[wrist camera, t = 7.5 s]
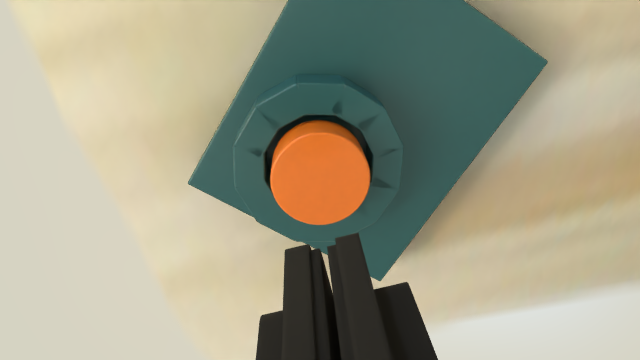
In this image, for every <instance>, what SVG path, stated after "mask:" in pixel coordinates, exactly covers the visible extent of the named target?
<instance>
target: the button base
mask: <svg viewBox="0 0 640 360" xmlns="http://www.w3.org/2000/svg"><path fill="white" fill-rule="evenodd" d="M547 62H548V61H547V60H546V59H544V58H543V57H542V56H540V55H539V54H538V53H536V52H535V51H533V50H532V49H531V48H529V47H528V46H526V45H525V44H524V43H522V42H521V41H520V40H518V39H517V38H515V37H514V36H513V35H511V34H510V33H508V32H507V31H506V30H504V29H503V28H501V27H500V26H499V25H497V24H496V23H495V22H493V21H492V20H490V19H489V18H488V17H486V16H485V15H483V14H482V13H481V12H479V11H478V10H477V9H475V8H474V7H472V6H471V5H470V4H468V3H467V2H465V1H464V0H288V2H287V3H286V5H285V7H284V9H283V11H282V13H281V14H280V16H279V18H278V20H277V22H276V23H275V25H274V27H273V29H272V31H271V32H270V34H269V36H268V38H267V40H266V42H265V43H264V45H263V47H262V49H261V51H260V52H259V54H258V56H257V58H256V60H255V61H254V63H253V65H252V67H251V69H250V71H249V72H248V74H247V76H246V78H245V80H244V81H243V83H242V85H241V87H240V89H239V90H238V92H237V94H236V96H235V98H234V99H233V101H232V103H231V105H230V107H229V109H228V110H227V112H226V114H225V116H224V118H223V119H222V121H221V123H220V125H219V127H218V128H217V130H216V132H215V134H214V136H213V138H212V139H211V141H210V143H209V145H208V147H207V148H206V150H205V152H204V154H203V156H202V157H201V159H200V161H199V163H198V165H197V167H196V168H195V170H194V172H193V174H192V176H191V178H190V180H189V181H188V184H189V185H191V186H193V187H195V188H197V189H199V190H201V191H203V192H205V193H207V194H209V195H211V196H213V197H215V198H217V199H219V200H221V201H223V202H225V203H227V204H229V205H231V206H233V207H235V208H236V209H238V210H240V211H242V212H244V213H246V214H248V215H250V216H252V217H254V218H255V219H256V221H257V222H259V223H260V224H262V225H264V226H266V227H268V228H270V229H272V230H274V231H276V232H278V233H280V234H282V235H284V236H286V237H288V238H290V239H292V240H294V241H295V240H296V241H297V242H303V243H305V244H309V245H310V246H311V247H313V248H315V249H318V248H320V250H321V252H323V253H325V254H327V255H328V251H327V246H331V245H336V242H335V238H337V237H341V236H346V235H350V234H354V233H359V236H360V240H361V244H362V248H363V252H364V255H365V259H366V263H367V267H368V270H369V274H370V277H372V278H374V279H376V280H378V281H381V280H382V278H383V277H384V276H385V275H386V273H387V272H388V271H389V269H390V268H391V267H392V265H393V264H394V263H395V261H396V260H397V259H398V258H399V256H400V255H401V254H402V252H403V251H404V250H405V248H406V247H407V246H408V244H409V243H410V242H411V241H412V239H413V238H414V237H415V235H416V234H417V233H418V231H419V230H420V229H421V227H422V226H423V225H424V224H425V222H426V221H427V220H428V218H429V217H430V216H431V214H432V213H433V212H434V210H435V209H436V208H437V207H438V205H439V204H440V203H441V201H442V200H443V199H444V197H445V196H446V195H447V194H448V192H449V191H450V190H451V188H452V187H453V186H454V184H455V183H456V182H457V180H458V179H459V178H460V177H461V175H462V174H463V173H464V171H465V170H466V169H467V167H468V166H469V165H470V163H471V162H472V161H473V160H474V158H475V157H476V156H477V154H478V153H479V152H480V150H481V149H482V148H483V146H484V145H485V144H486V143H487V141H488V140H489V139H490V137H491V136H492V135H493V133H494V132H495V131H496V129H497V128H498V127H499V126H500V124H501V123H502V122H503V120H504V119H505V118H506V116H507V115H508V114H509V112H510V111H511V110H512V109H513V107H514V106H515V105H516V103H517V102H518V101H519V99H520V98H521V97H522V95H523V94H524V93H525V92H526V90H527V89H528V88H529V86H530V85H531V84H532V82H533V81H534V80H535V78H536V77H537V76H538V75H539V73H540V72H541V71H542V69H543V68H544V67H545V65H546V64H547ZM312 120H326V121H331V122H334V123H337V124H339V125H341V126H343V127H345V128H346V129H348V130H349V131H350V132H351V133H352V134H353V135H354V136H355V137H356V139H357V140H358V142H359V143H360V146H361V148H362V150H363V152H364V155H365V157H366V160H367V162H368V165H369V169H370V186H369V190H368V193H367V195H366V197H365V199H364V201H363V202H362V204H361V205H360V206H359V208H358V209H357V210H356V211H355V212H354V213H352V214H351V215H350V216H348V217H346V218H345V219H343V220H340V221H338V222H335V223H332V224H326V225H313V224H307V223H304V222H301V221H298V220H296V219H294V218H293V217H291V216H289V215H288V214H287V213H286V212H285V211H284V210H283V209H282V208H281V207H280V206H279V205H278V203H277V202H276V200H275V198H274V196H273V193H272V189H271V183H270V175H271V166H272V158H273V153H274V150H275V148H276V146H277V144H278V142H279V141H280V139H281V138H282V137H283V136H284V134H285V133H286V132H288V131H289V130H290V129H292V128H293V127H295V126H297V125H299V124H301V123H304V122H307V121H312Z"/></svg>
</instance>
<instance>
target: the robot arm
mask: <svg viewBox="0 0 640 360" xmlns="http://www.w3.org/2000/svg"><path fill="white" fill-rule="evenodd" d="M335 242H336V245H331V246H327V251H328V259H329V266H330V274H331V282H332V290H333V293H332V290H331V286H330V282H329V279H328V275H327V271H326V268H325V264H324V260H323V257H322V253H321V250H320V248H318V249H314V250H311V247H310V245H309V244H307V245H303V246H299V247H295V248H290V249H286V250H285V263H284V294H283V311H278V312H274V313H270V314H265V315H262V316H261V318H260V323H259V333H258V343H257V353H256V360H438V358H437V356H436V353H435V351H434V348H433V346H432V343H431V340H430V338H429V335H428V333H427V330H426V327H425V325H424V322H423V320H422V317H421V315H420V312H419V309H418V307H417V304H416V302H415V299H414V297H413V294H412V291H411V289H410V286H409V284H408V283H407V282H405V283H400V284H396V285H392V286H387V287H383V288H379V289H373V286H372V282H371V278H370V274H369V270H368V267H367V263H366V259H365V255H364V252H363V248H362V244H361V240H360V236H359V233H354V234H350V235H346V236H341V237H337V238H335Z"/></svg>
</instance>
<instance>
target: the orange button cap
mask: <svg viewBox="0 0 640 360" xmlns="http://www.w3.org/2000/svg"><path fill="white" fill-rule="evenodd" d="M270 183H271V189H272V193H273V196H274V198H275V200H276V202H277V203H278V205H279V206H280V207H281V208H282V209H283V210H284V211H285V212H286V213H287V214H288V215H289V216H291V217H293V218H294V219H296V220H298V221H301V222H304V223H307V224H313V225H326V224H332V223H335V222H338V221H340V220H343V219H345V218H346V217H348V216H350V215H351V214H352V213H354V212H355V211H356V210H357V209H358V208H359V206H360V205H361V204H362V202H363V201H364V199H365V197H366V195H367V193H368V190H369V186H370V169H369V165H368V162H367V160H366V157H365V155H364V152H363V150H362V148H361V146H360V143H359V142H358V140H357V139H356V137H355V136H354V135H353V134H352V133H351V132H350V131H349V130H348V129H346V128H345V127H343V126H341V125H339V124H337V123H334V122H331V121H326V120H312V121H307V122H304V123H301V124H299V125H297V126H295V127H293V128H292V129H290V130H289V131H288V132H286V133H285V134H284V136H283V137H282V138H281V139H280V141H279V142H278V144H277V146H276V148H275V150H274V153H273V158H272V166H271V175H270Z"/></svg>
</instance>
